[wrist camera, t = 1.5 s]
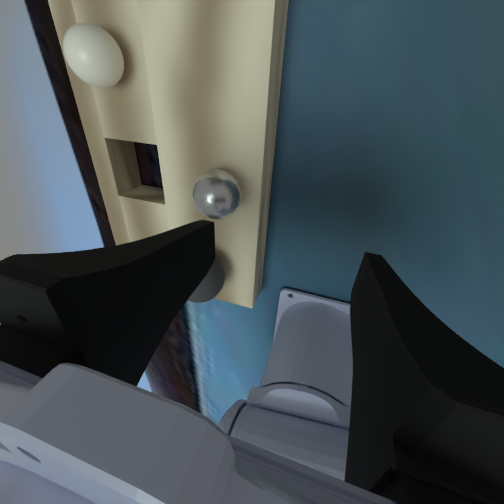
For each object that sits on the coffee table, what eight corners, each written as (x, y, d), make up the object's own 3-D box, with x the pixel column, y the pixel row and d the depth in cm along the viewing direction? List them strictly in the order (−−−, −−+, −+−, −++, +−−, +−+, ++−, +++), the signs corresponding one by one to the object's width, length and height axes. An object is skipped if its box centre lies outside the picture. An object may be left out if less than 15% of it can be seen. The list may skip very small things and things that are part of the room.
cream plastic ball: (129, 28, 15) (87, 16, 13) (139, 89, 17) (103, 89, 14) (87, 27, 16) (39, 16, 13) (101, 86, 17) (60, 86, 15)
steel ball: (249, 167, 17) (231, 181, 14) (247, 212, 19) (230, 232, 16) (204, 161, 18) (179, 173, 15) (206, 204, 19) (185, 222, 17)
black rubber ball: (232, 248, 21) (210, 278, 18) (232, 286, 23) (212, 319, 20) (188, 238, 22) (159, 265, 19) (191, 276, 24) (167, 305, 21)
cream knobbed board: (290, -21, 14) (277, -43, 12) (261, 288, 26) (252, 308, 24) (83, -14, 17) (39, -31, 15) (142, 258, 29) (123, 273, 27)
